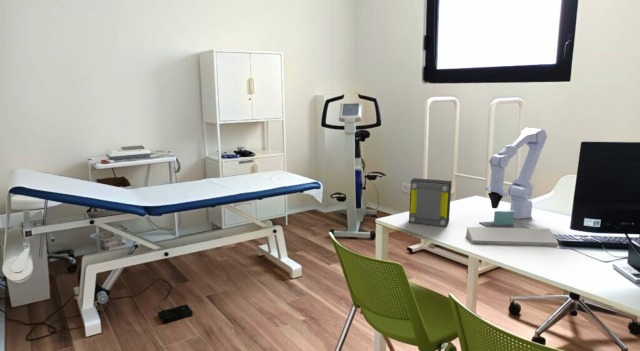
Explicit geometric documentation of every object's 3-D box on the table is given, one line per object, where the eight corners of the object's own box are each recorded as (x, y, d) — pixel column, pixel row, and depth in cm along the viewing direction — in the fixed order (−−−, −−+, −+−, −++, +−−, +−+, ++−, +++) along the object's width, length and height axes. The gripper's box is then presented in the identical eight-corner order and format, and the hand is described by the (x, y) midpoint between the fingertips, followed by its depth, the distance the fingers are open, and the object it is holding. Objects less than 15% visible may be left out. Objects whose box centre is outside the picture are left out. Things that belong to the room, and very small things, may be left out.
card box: (510, 223, 216) (511, 210, 214) (513, 224, 214) (514, 211, 213) (493, 224, 214) (494, 211, 212) (495, 225, 212) (497, 212, 211)
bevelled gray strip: (555, 252, 188) (546, 238, 197) (558, 242, 186) (549, 228, 195) (471, 249, 190) (465, 236, 199) (472, 240, 188) (467, 226, 197)
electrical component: (407, 223, 215) (409, 181, 212) (412, 217, 225) (414, 177, 221) (446, 227, 209) (449, 185, 205) (449, 221, 218) (451, 180, 214)
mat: (512, 220, 220) (512, 220, 220) (532, 229, 207) (532, 228, 207) (479, 223, 216) (479, 222, 216) (496, 232, 203) (497, 231, 203)
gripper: (480, 177, 222) (478, 204, 225) (498, 183, 209) (496, 212, 211) (493, 176, 224) (491, 203, 227) (512, 183, 210) (509, 211, 213)
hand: (494, 207), depth 219 cm, fingers closed
